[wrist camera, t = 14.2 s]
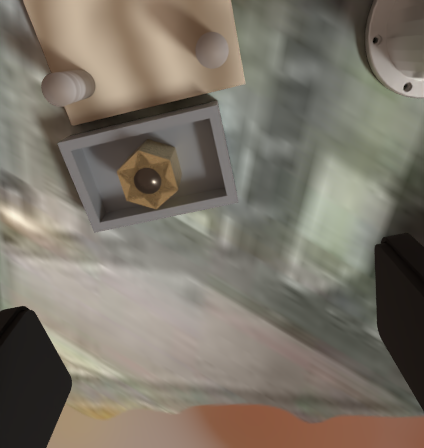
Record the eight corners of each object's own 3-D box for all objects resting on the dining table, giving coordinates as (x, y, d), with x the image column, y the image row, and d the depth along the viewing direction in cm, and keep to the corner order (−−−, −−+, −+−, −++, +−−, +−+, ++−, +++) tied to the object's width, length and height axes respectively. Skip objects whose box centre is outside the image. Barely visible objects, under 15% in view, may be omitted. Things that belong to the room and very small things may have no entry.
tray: (217, 100, 36) (217, 105, 33) (236, 190, 40) (238, 202, 37) (70, 135, 38) (57, 143, 34) (103, 219, 42) (94, 232, 39)
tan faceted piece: (171, 133, 37) (165, 144, 32) (185, 187, 39) (181, 204, 35) (123, 143, 37) (111, 156, 33) (140, 196, 40) (131, 214, 35)
